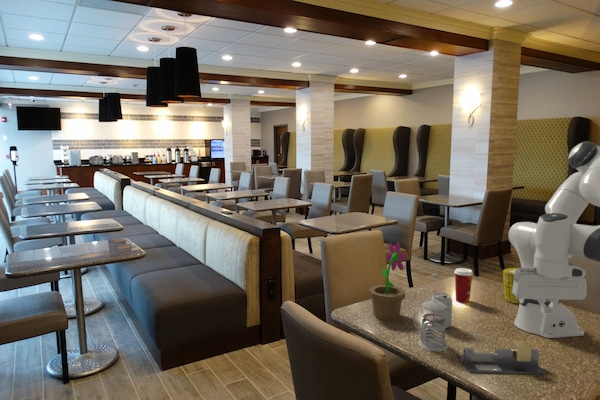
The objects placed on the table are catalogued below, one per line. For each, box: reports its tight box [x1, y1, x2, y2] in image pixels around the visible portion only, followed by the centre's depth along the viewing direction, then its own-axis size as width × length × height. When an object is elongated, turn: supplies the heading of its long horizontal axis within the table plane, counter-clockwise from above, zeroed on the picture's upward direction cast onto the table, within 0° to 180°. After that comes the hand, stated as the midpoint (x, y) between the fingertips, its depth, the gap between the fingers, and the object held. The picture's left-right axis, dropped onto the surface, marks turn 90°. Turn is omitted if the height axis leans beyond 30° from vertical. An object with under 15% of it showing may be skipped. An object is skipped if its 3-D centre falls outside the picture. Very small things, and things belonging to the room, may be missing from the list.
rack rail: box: [458, 347, 546, 375], centre depth 127 cm, size 22×10×5 cm, turn 87°
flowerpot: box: [368, 241, 407, 321], centre depth 165 cm, size 14×14×30 cm
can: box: [430, 292, 453, 329], centre depth 156 cm, size 8×8×12 cm
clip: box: [509, 339, 532, 362], centre depth 127 cm, size 4×5×4 cm
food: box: [502, 267, 520, 305], centre depth 182 cm, size 15×12×10 cm
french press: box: [412, 273, 449, 352], centre depth 140 cm, size 10×12×25 cm
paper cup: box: [453, 267, 474, 304], centre depth 182 cm, size 8×8×14 cm
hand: (547, 312), depth 125 cm, fingers closed
